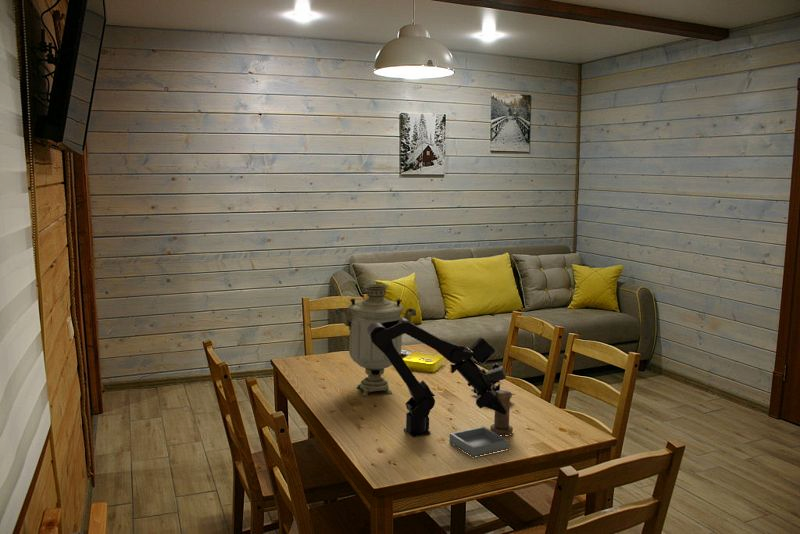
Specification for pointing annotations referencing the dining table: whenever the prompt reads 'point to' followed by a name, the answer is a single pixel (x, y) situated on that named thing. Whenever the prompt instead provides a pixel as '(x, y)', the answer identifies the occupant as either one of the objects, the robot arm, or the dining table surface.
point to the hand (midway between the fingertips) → (506, 410)
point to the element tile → (424, 361)
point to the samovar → (360, 343)
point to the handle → (502, 415)
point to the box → (478, 441)
